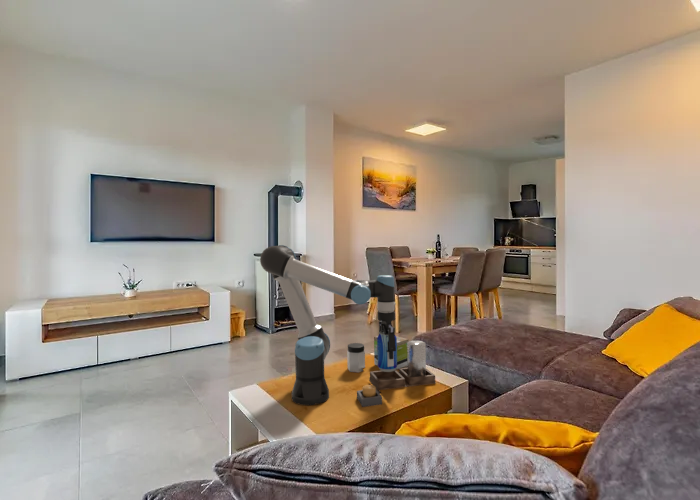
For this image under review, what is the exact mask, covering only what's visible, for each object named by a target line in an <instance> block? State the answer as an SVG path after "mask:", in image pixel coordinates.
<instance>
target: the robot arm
mask: <svg viewBox="0 0 700 500" xmlns="http://www.w3.org/2000/svg"><path fill="white" fill-rule="evenodd" d="M296 257H297V256H296V253H295V252H294V250H293V249H292V248H290V247H289V246H287V245H283V244H281V245H271V246H268V247H266V248H265V249H264V250H263V251H262V253H261V254H260V258H259V262H260V265H261V267H262V269H263V270H264V271H265V272H266V273H269V274H271V275H272V278H273V280H275V281H277V282H278V283H279V285H280V288H281V291H282V292H283V296H284V298H285V301H286V303H287V305H288V307H289V310H290V313H291V315H292V318H293V320H294V322H295V326H296V328H297V330H298V334H297V339H298V340H297V341H296V342H295V345H294V358H295V359H294V360H295V362H294V363H295V381H294V384H293V388H292V391H291V401H292V402H293V403H295V404H297V405H301V406H315V405H320V404H322V403H325V402H326V401H327V400H329V398H330V390H329V387H328V384H327V382H326V379H325V360H326V357H327V355H328V354H329V352H330V348H331V339H330V337H329V336H328V334H327V333H326V332H325V331H324V329H323V326H322V325H320V324H318V323H317V322H316V318H315V316H314V312H313V311H312V308H311V306H310V303H309V301H308V298H307V296H306V293H305V290H304V288H303V285H302V284H301V282H303V283H304V284H308V285H311V286H312V287H316V288H319V289H321V290H324V291H327V292H329V293H332V294H335V295H338V296H340V297H343V298H346V299H349V300H350V301H353V302H354V303H355V304H356V305H364V304H366V303H368V301H369V300H370V299H371V298H376V299H377V301H376V302H377V305H376V306H377V307H376V308H377V321H378V333H379V332H381V333H382V332H384V334H385V335H388V336H387V337H388V338H389V342H388V350H387V351H386V352H387V360H388V367H390V366H394V351H396V346H395V336H396V333H395V331H396V330H395V327H394V326H393V325H392V322H394V321H395V320H396V312H395V310H396V302H395V301H396V300H395V294H396V293H395V286H396V285H395V278H394V276H393V275H390V274H389V275H388V274H387V275H386V274H381V275H377V277H376V279H373V280H371V279H370V280H367V279H366V280H362V279H361V280H359V279H357V280H353V279H350V278H347V277H345V276H342V275H338V274H337V273H335V272H331V271H328V270H326V269H323V268H320V267H317V266H314V265H312V264H310V263H306V262H303V261H301V260H298V259H297V258H296Z"/></svg>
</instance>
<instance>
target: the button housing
mask: <svg viewBox="0 0 700 500" xmlns="http://www.w3.org/2000/svg"><path fill="white" fill-rule="evenodd" d="M356 400H357V401H358V403H359V404H360V406H361V408H366V407H371V406H372V407H373V406H380V405H381V406H382V405H383V397H382V395H381V394H379V392H378V391H377V390H376V396H375V397H367V398H366V397H364V396H363V389H360V390H356Z"/></svg>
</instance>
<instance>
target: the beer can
mask: <svg viewBox="0 0 700 500" xmlns="http://www.w3.org/2000/svg"><path fill="white" fill-rule="evenodd" d="M377 336H378V337H377ZM377 336H376V337H377V350H378V365H377V368H378V369H379V371H384V372H392V371H395V369H396V368H397V338H396V336H397V335H395V346H396V351H394V366H390V367H388V360H387V352H386V351H387V350H388V342H389V338H388V337H387V336H388V335H385V334H384V332H382V333H381V332H379V331H378V335H377Z"/></svg>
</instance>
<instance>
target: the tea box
mask: <svg viewBox="0 0 700 500" xmlns="http://www.w3.org/2000/svg"><path fill="white" fill-rule="evenodd" d="M378 336H379V335H376V336H374V338H373V349H374V351H373V353H374V354H373V357H374V360H373V361H374V362H373V363H374V365H375V366H378V350H377V337H378ZM395 336H396V338H397V368H396V369H395V370H396V371H398V370H399V369H400V368H406V367H408V364H407V342H409V341H410V340H409V339H408V338H405V337H401V336H398V335H395Z"/></svg>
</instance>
